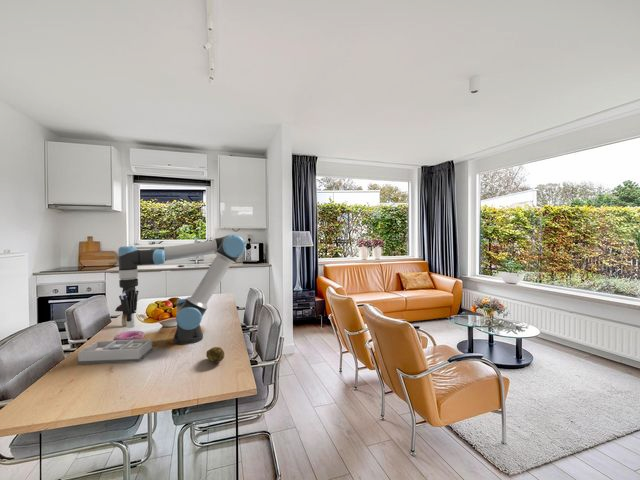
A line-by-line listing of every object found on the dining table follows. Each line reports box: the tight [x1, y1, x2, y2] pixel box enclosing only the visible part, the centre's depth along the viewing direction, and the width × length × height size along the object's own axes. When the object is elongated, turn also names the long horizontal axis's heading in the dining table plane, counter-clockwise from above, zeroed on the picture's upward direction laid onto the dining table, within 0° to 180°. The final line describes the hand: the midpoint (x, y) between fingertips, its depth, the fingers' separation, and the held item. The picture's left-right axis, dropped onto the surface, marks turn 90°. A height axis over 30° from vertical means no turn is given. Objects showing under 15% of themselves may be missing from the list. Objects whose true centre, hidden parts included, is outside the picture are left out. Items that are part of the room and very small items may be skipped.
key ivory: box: [127, 343, 143, 349], centre depth 143 cm, size 5×5×3 cm
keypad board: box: [77, 338, 154, 365], centre depth 142 cm, size 26×14×6 cm, turn 97°
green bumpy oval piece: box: [205, 346, 225, 364], centre depth 136 cm, size 8×13×8 cm, turn 15°
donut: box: [112, 330, 145, 340], centre depth 161 cm, size 14×14×5 cm
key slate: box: [109, 344, 125, 350], centre depth 142 cm, size 5×5×3 cm
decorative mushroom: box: [114, 304, 127, 327], centre depth 190 cm, size 11×11×15 cm
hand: (130, 327), depth 143 cm, fingers closed
